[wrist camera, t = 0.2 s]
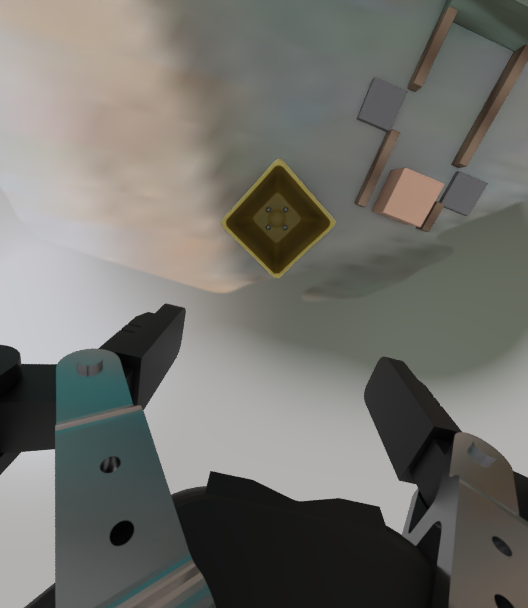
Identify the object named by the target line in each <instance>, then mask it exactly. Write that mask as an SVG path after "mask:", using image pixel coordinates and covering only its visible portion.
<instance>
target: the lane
mask: <svg viewBox="0 0 528 608" xmlns="http://www.w3.org/2000/svg"><path fill="white" fill-rule="evenodd" d="M452 22H454V23H456V24H459V25H461V26H463V27H465V28H467V29H469V30H471V31H473V32H475V33H477V34H479V35H482V36H484V37H486V38H488V39H490V40H492V41H494V42H496V43H498V44H500V45H503V46H505V47H507V48H509V49H511V50H513V51H514V53H513V55H512V57H511V59H510V60H509V62H508V64H507V66H506V68H505V69H504V71H503V73H502V75H501V77H500V78H499V80H498V82H497V84H496V86H495V87H494V89H493V91H492V93H491V95H490V96H489V98H488V100H487V102H486V104H485V105H484V107H483V109H482V111H481V113H480V114H479V116H478V118H477V120H476V122H475V123H474V125H473V127H472V129H471V131H470V132H469V134H468V136H467V138H466V140H465V141H464V143H463V145H462V147H461V149H460V150H459V152H458V154H457V156H456V158H455V159H454V161H453V163H452V165H453V166H456V167H458V168H460V167H466V166H467V165H468V163H469V162H470V160H471V158H472V156H473V155H474V153H475V151H476V149H477V148H478V146H479V144H480V143H481V141H482V139H483V137H484V136H485V134H486V132H487V130H488V129H489V127H490V125H491V123H492V122H493V120H494V118H495V117H496V115H497V113H498V111H499V110H500V108H501V106H502V104H503V103H504V101H505V99H506V97H507V96H508V94H509V92H510V91H511V89H512V87H513V85H514V84H515V82H516V80H517V78H518V77H519V75H520V73H521V71H522V70H523V68H524V66H525V64H526V63H527V61H528V0H447V2H446V5H445V7H444V9H443V11H442V13H441V16H440V18H439V20H438V22H437V24H436V27H435V29H434V31H433V33H432V35H431V38H430V40H429V42H428V44H427V46H426V49H425V51H424V53H423V55H422V57H421V59H420V62H419V64H418V66H417V68H416V70H415V73H414V75H413V77H412V79H411V81H410V84H409V86H408V89H410V90H413V91H415V92H416V91H417V90H418V89H419V88H421V87H422V86H423V83H424V81H425V79H426V77H427V75H428V73H429V71H430V69H431V66H432V64H433V62H434V60H435V58H436V56H437V54H438V52H439V50H440V47H441V45H442V43H443V41H444V39H445V37H446V35H447V33H448V30H449V28H450V26H451V24H452ZM399 134H400V132H398V131H396V130H394V129H392V130H390V131H388V132H387V134H386V136H385V138H384V141H383V143H382V145H381V147H380V149H379V152H378V154H377V156H376V158H375V160H374V163H373V165H372V167H371V169H370V171H369V174H368V176H367V178H366V180H365V182H364V185H363V187H362V189H361V191H360V193H359V195H358V198H357V200H356V202H355V204H356V205H359V206H361V207H365V206H366V204H367V202H368V200H369V198H370V196H371V194H372V191H373V189H374V187H375V185H376V183H377V181H378V179H379V177H380V175H381V172H382V170H383V168H384V166H385V164H386V162H387V160H388V158H389V155H390V153H391V151H392V149H393V147H394V145H395V143H396V141H397V139H398V136H399ZM443 207H444V204H441V203H439V202H434V204H433V206H432V208H431V209H430V211H429V213H428V215H427V216H426V218H425V220H424V222H423V224H422V225H421V227H417V229H420V230H422V231H426V232H429V231H430V229H431V228H432V226H433V224H434V222H435V221H436V219H437V217H438V215H439V214H440V212H441V210H442V208H443Z"/></svg>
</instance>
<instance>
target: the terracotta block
mask: <svg viewBox="0 0 528 608" xmlns="http://www.w3.org/2000/svg"><path fill="white" fill-rule="evenodd" d="M443 186H444V183H441V182H439V181H436V180H434V179H431V178H429V177H427V176H424V175H422V174H419V173H417V172H415V171H412V170H410V169H407V168H401V169H397V170H392V171H391V172H390V174H389V176H388V178H387V180H386V183H385V185H384V187H383V189H382V191H381V193H380V195H379V197H378V199H377V201H376V203H375V205H374V207H373V210H372V211H374V212H376V213H379V214H382V215H384V216H387V217H389V218H392V219H394V220H397V221H399V222H402V223H404V224H408V225H413V226H417V227H421V225H422V224H423V222H424V220H425V218H426V216H427V215H428V213H429V211H430V209H431V208H432V206H433V204H434V202H435V200H436V199H437V197H438V195H439V193H440V192H441V190H442V188H443Z"/></svg>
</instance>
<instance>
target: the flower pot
mask: <svg viewBox="0 0 528 608" xmlns="http://www.w3.org/2000/svg"><path fill="white" fill-rule="evenodd" d="M268 207H269V208H270V209H271V210H270V211H269V212H267V210H266V209H267V208H268ZM285 207H286V208H287V209H288V211H287V212H284V208H285ZM335 224H336V221H335V219H334V218H333V217H332V216H331V215H330V214H329V213H328V211H327V210H326V209H325V208H324V207H323V206H322V205H321V204H320V202H319V201H318V200H317V199H316V198H315V197H314V196H313V194H312V193H311V192H310V191H309V190H308V189H307V187H306V186H305V185H304V184H303V183H302V182H301V181H300V179H299V178H298V177H297V176H296V175H295V174H294V172H293V171H292V170H291V169H290V168H289V167H288V165H287V164H286V163H285V162H284V161H283V160H282V159H280V158H279V159H276V160H275V161H274V162H273V163H272V164H271V165H270V167H269V168H268V169H267V170H266V171H265V172H264V173H263V175H262V176H261V177H260V178H259V179H258V180H257V181H256V182H255V184H254V185H253V186H252V187H251V188H250V189H249V190H248V191H247V192H246V194H245V195H244V196H243V197H242V198H241V199H240V200H239V201H238V202H237V203H236V205H235V206H234V207H233V208H232V209H231V210H230V211H229V212H228V213H227V214H226V215H225V216H224V218H223V219H222V220H221V226H222V227H223V228H224V229H225V230H226V231H227V232H228V233H229V234H230V235H231V236H232V237H233V238H234V239H235V240H236V241H237V242H238V243H239V244H240V245H241V246H242V247H243V248H244V249H245V250H246V251H247V252H249V253H250V254H251V255H252V256H253V257H254V258H255V259H256V260H257V261H258V262H259V263H260V265H261V266H262V267H263V268H264V269H265V270H266V271H267V272H268V273H269V274H270V275H272V276H273V277H274V278H276V279H278V278H280V277H281V276H282V275H283V274H284V273H285V272H286V271H287V270H288V269H289V268H290V267H291V266H292V265H293V264H294V263H295V262H296V261H297V260H298V259H299V258H300V257H301V256H302V255H303V254H305V253H306V252H307V251H308V250H309V249H310V248H311V247H312V246H313V245H314V244H316V243H317V242H318V241H319V240H320V239H321V238H322V237H323V236H324V235H326V234H327V233H328V232H329V231H330V230H331V229H332V228H333V227H334V226H335ZM267 225H269V226H270V229H269V230H268V229H267V228H266V226H267ZM284 225H286V226H287V229H286V230H285V229H283V226H284Z"/></svg>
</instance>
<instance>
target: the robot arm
mask: <svg viewBox="0 0 528 608" xmlns="http://www.w3.org/2000/svg"><path fill="white" fill-rule="evenodd" d="M185 313H186V310H185V308H183V307H178V306H174V305H170V304H164V305H163V306H162V307H161V308H160V309H159V310H158V311H157V312H156V313H155V314H154V313H150V312H147V313H144V314H142V315H139V316H136V317H135V318H134V319H133V320H131V321H130V322H129V323H128V325H126V326H124V327H123V328H122V330H120V331H119V332H117V333H116V334H115V335H114V336H113V337H112V338H110V339H109V340H108V341H107V342H106V343H104V344H103V345H102V346H101V347H100V348H99V349H85V350H80V351H76V352H73V353H71V354H69V355H67V356H65V357H64V358H62V359H61V360H60V361H59V362H58V364H55V365H54V364H51V365H48V364H46V365H45V364H21V358H20V353H19V352H18V351H17V350H16V349H14V348H12V347H9V346H4V345H0V475H1V474H2V472H3V471H4V470H5V469H6V468H7V467H8V466H9V465H10V464H11V463H12V462H13V460H14V459H15V458H16V457H17V456H18V455H19V454H20V453H21V452H25V451H37V450H48V449H49V450H50V449H55V544H56V545H55V560H56V561H55V566H56V567H55V568H56V569H55V572H56V573H55V577H56V578H55V583H54V584H53V585H52V586H50V587H49V588H48V589H47V590H45V591H44V592H43V593H42V594H40V595H39V596H38V597H37V598H35V599H34V600H33V601H32V602H30V603H29V604H28V605H27V606H26V607H24V608H528V478H527V477H525V476H523V475H521V474H519V473H516V472H514V471H513V470H512V467H511V465H510V464H509V462H508V461H507V460H506V459H505V457H504V456H502V454H500V452H498V451H497V450H496V449H495V448H494V447H492V446H491V445H490V444H488V443H487V442H485V441H483V440H482V439H480V438H478V437H476V436H474V435H471V434H469V433H464V432H462V431H461V430H460V429H459V427H458V426H457V425H456V424H455V422H454V421H453V420H452V419H451V417H450V416H449V415H448V414H447V413H446V411H445V410H444V409H443V407H441V406H440V404H439V402H438V401H437V400H436V398H434V397H433V395H432V394H431V392H430V391H429V390H428V388H427V387H426V386H425V385H424V384H423V383H421V382H420V381H419V380H418V379H417V378H416V377H415V376H414V374H413V373H412V372H411V370H410V369H409V368H408V366H407V365H406V364H405V363H404V362H403V361H400V360H396V359H392V358H388V357H382V358H380V360H379V361H378V363H377V365H376V367H375V369H374V371H373V373H372V375H371V377H370V380H369V381H368V384H367V385H366V388H365V392H364V399H365V403H366V406H367V408H368V410H369V412H370V415H371V417H372V419H373V422H374V424H375V426H376V429H377V431H378V433H379V435H380V438H381V440H382V442H383V445H384V447H385V449H386V452H387V454H388V456H389V459H390V461H391V463H392V465H393V468H394V470H395V472H396V474H397V477H398V479H399V481H405V482H409V483H413V484H417V486H418V489H417V490H416V491H415V493H414V494H413V497H412V500H411V504H410V508H409V511H408V515H407V518H406V522H405V526H404V530H403V533H402V535H401V534H399V533H398V532H396V531H394V530H393V529H391V528H390V527H388V526H386V525H385V522H384V519H383V516H382V513H381V510H380V507H378V506H373V505H369V504H363V503H359V502H354V501H350V500H345V499H340V498H336V499H325V500H313V501H300V502H299V501H295V500H293V499H290V498H288V497H286V496H284V495H282V494H280V493H278V492H276V491H274V490H272V489H270V488H268V487H266V486H264V485H262V484H260V483H258V482H256V481H254V480H250V479H245V478H241V477H235V476H231V475H226V474H221V473H217V472H212V471H210V475H209V479H208V483H207V486H203V487H195V488H191V489H186V490H183V491H180V492H177V493H174V494H172V495H171V494H170V491H169V488H168V485H167V482H166V479H165V475H164V472H163V469H162V466H161V463H160V460H159V457H158V454H157V452H156V448H155V445H154V442H153V439H152V436H151V433H150V429H149V427H148V423H147V420H146V417H145V414H144V411H143V410H144V409H145V407H146V405H147V404H148V402H149V401H150V399H151V397H152V396H153V394H154V392H155V391H156V389H157V388H158V386H159V385H160V383H161V381H162V380H163V378H164V376H165V375H166V373H167V372H168V370H169V368H170V367H171V365H172V364H173V362H174V360H175V359H176V357H177V355H178V352H179V349H180V346H181V340H182V333H183V327H184V319H185Z"/></svg>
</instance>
